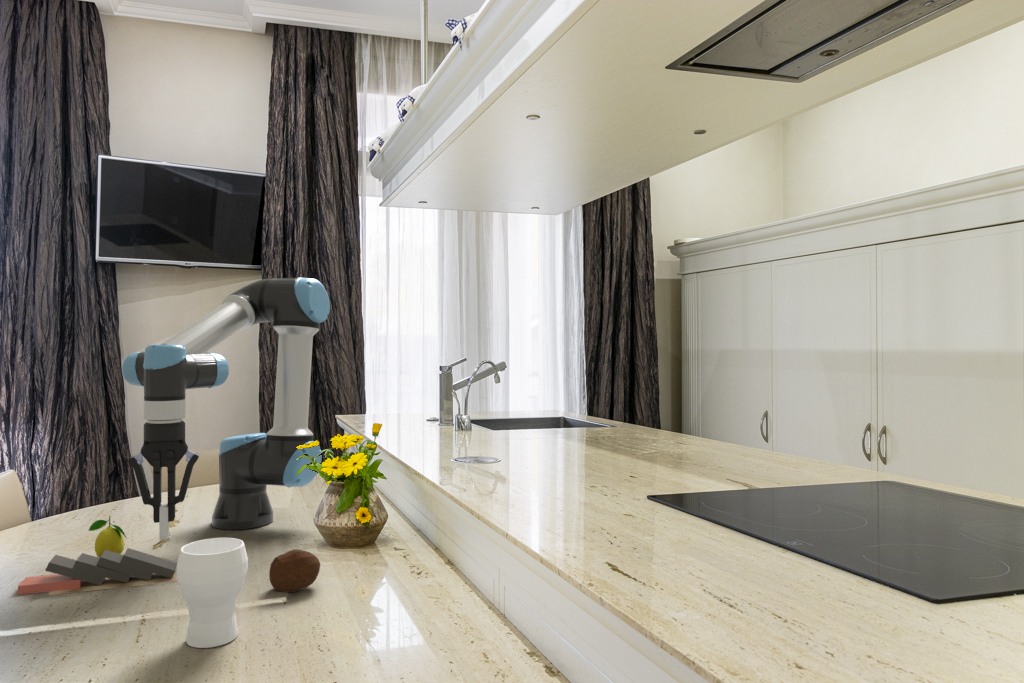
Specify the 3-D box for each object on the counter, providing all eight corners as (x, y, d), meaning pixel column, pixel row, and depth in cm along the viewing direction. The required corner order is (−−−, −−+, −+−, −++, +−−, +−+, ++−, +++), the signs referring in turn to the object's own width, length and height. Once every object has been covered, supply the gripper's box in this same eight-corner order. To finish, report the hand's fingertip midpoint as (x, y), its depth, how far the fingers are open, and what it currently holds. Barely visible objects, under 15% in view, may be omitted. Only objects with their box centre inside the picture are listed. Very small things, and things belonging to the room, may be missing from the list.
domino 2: (109, 569, 139) (55, 554, 136) (104, 577, 134) (48, 562, 131) (106, 576, 139) (52, 562, 136) (101, 585, 134) (45, 570, 131)
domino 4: (156, 565, 142) (105, 549, 139) (153, 572, 137) (100, 557, 134) (152, 572, 142) (101, 557, 139) (149, 580, 137) (96, 565, 134)
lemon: (88, 561, 151) (88, 515, 151) (117, 555, 155) (118, 511, 155) (98, 568, 147) (98, 521, 146) (128, 562, 151) (128, 516, 151)
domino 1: (85, 571, 138) (26, 577, 134) (80, 579, 133) (18, 586, 130) (85, 579, 138) (26, 585, 134) (80, 588, 133) (18, 594, 130)
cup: (191, 625, 118) (191, 537, 118) (255, 623, 119) (255, 536, 119) (165, 653, 107) (165, 556, 107) (236, 651, 108) (236, 555, 108)
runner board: (203, 568, 147) (203, 564, 147) (200, 582, 139) (200, 578, 139) (60, 583, 138) (60, 579, 138) (47, 599, 129) (47, 594, 129)
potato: (262, 593, 133) (262, 551, 133) (305, 579, 141) (305, 540, 141) (285, 602, 129) (285, 559, 129) (328, 587, 137) (328, 547, 137)
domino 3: (134, 567, 141) (82, 553, 137) (130, 575, 136) (76, 560, 133) (131, 575, 141) (78, 560, 137) (127, 583, 136) (72, 568, 133)
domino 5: (177, 563, 144) (127, 547, 140) (175, 570, 139) (123, 555, 136) (174, 570, 143) (124, 555, 140) (171, 578, 139) (119, 562, 135)
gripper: (201, 417, 146) (200, 530, 146) (131, 419, 141) (130, 535, 142) (198, 421, 139) (198, 539, 139) (125, 424, 134) (124, 546, 135)
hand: (164, 537), depth 140 cm, fingers closed
